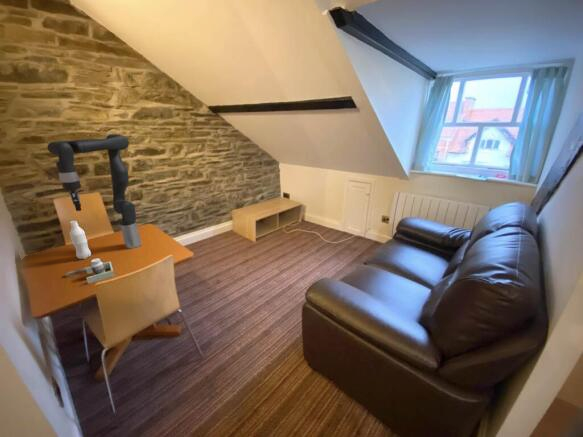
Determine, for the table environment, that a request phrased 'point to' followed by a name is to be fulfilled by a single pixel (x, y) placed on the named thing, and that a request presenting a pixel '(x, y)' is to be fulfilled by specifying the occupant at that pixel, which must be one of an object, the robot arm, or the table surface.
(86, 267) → the bar
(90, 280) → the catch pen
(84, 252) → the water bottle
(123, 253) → the table surface
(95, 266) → the pill bottle
